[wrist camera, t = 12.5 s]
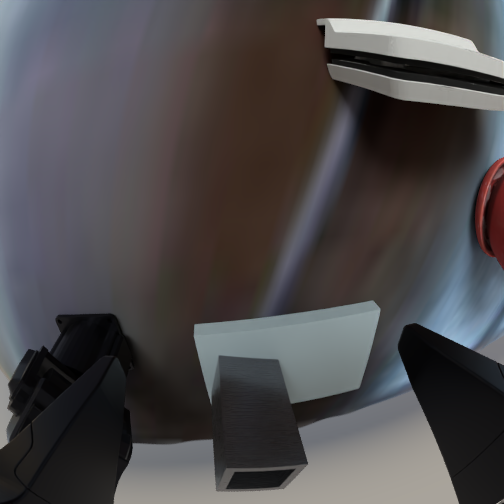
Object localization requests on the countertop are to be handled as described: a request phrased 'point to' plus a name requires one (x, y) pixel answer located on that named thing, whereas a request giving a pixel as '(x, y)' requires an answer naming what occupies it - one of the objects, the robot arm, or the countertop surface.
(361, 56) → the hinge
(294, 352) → the base plate
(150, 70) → the countertop surface
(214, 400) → the steel sleeve
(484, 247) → the plant pot
